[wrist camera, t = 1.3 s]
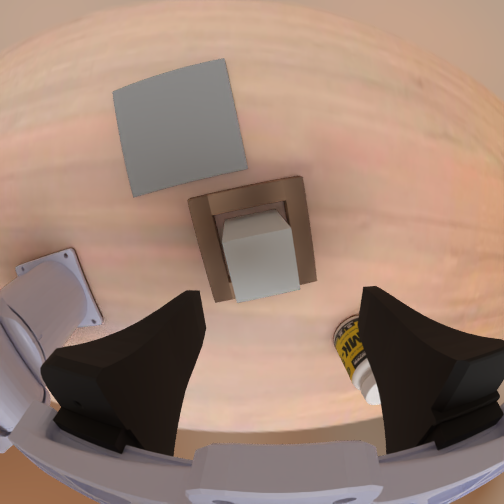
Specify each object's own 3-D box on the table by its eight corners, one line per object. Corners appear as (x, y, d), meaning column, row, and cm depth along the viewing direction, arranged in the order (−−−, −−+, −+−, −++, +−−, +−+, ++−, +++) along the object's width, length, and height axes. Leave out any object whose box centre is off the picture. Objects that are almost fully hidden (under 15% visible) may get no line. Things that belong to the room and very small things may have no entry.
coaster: (136, 196, 20) (133, 197, 19) (115, 93, 17) (112, 91, 16) (247, 168, 20) (248, 168, 19) (224, 60, 17) (224, 58, 16)
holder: (215, 295, 23) (215, 302, 22) (189, 198, 20) (187, 200, 19) (312, 275, 23) (316, 281, 22) (298, 175, 20) (302, 176, 19)
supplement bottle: (345, 310, 25) (382, 367, 17) (381, 317, 25) (422, 368, 17) (324, 348, 26) (351, 409, 18) (360, 353, 27) (391, 407, 19)
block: (235, 266, 22) (237, 302, 17) (224, 219, 21) (221, 242, 15) (283, 256, 22) (300, 289, 17) (275, 208, 21) (291, 227, 15)
